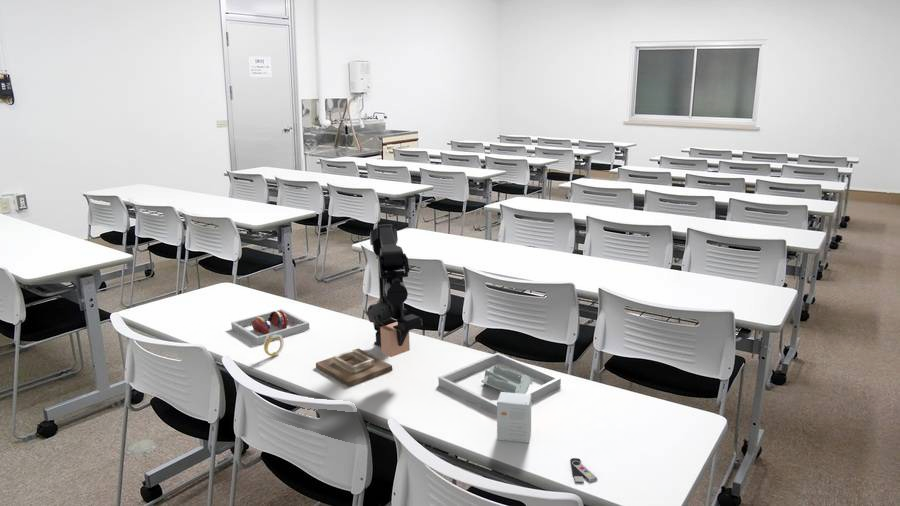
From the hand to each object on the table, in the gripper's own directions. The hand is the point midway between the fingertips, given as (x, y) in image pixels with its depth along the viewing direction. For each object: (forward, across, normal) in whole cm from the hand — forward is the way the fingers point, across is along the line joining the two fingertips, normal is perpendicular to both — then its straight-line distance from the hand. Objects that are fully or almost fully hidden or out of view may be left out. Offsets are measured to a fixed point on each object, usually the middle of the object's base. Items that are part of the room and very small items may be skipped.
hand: (395, 343), depth 189 cm
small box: (+12, +45, +2) cm, 46 cm away
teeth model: (+12, -63, -8) cm, 65 cm away
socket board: (+12, -15, -5) cm, 20 cm away
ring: (+12, -41, -18) cm, 46 cm away
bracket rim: (+12, +24, +19) cm, 33 cm away
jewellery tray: (+12, -63, -8) cm, 65 cm away
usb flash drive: (+12, +66, +2) cm, 67 cm away
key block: (+3, 0, 0) cm, 3 cm away
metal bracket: (+12, +26, +20) cm, 35 cm away
